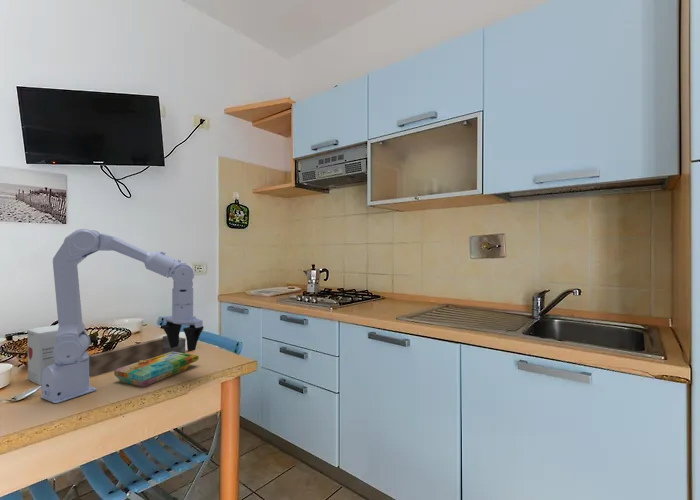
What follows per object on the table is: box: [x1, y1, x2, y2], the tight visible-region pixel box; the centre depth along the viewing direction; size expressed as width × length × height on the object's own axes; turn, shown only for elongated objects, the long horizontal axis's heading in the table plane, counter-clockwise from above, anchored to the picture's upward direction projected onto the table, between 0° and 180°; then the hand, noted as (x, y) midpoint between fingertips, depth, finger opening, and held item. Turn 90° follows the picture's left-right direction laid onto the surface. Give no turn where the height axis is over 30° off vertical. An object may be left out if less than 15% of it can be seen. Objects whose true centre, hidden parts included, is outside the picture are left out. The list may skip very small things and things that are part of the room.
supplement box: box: [27, 324, 59, 386], centre depth 105 cm, size 9×9×15 cm
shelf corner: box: [89, 335, 186, 378], centre depth 115 cm, size 25×12×7 cm, turn 153°
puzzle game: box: [113, 352, 200, 387], centre depth 109 cm, size 12×5×20 cm
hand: (182, 348), depth 106 cm, fingers open, 7 cm apart
